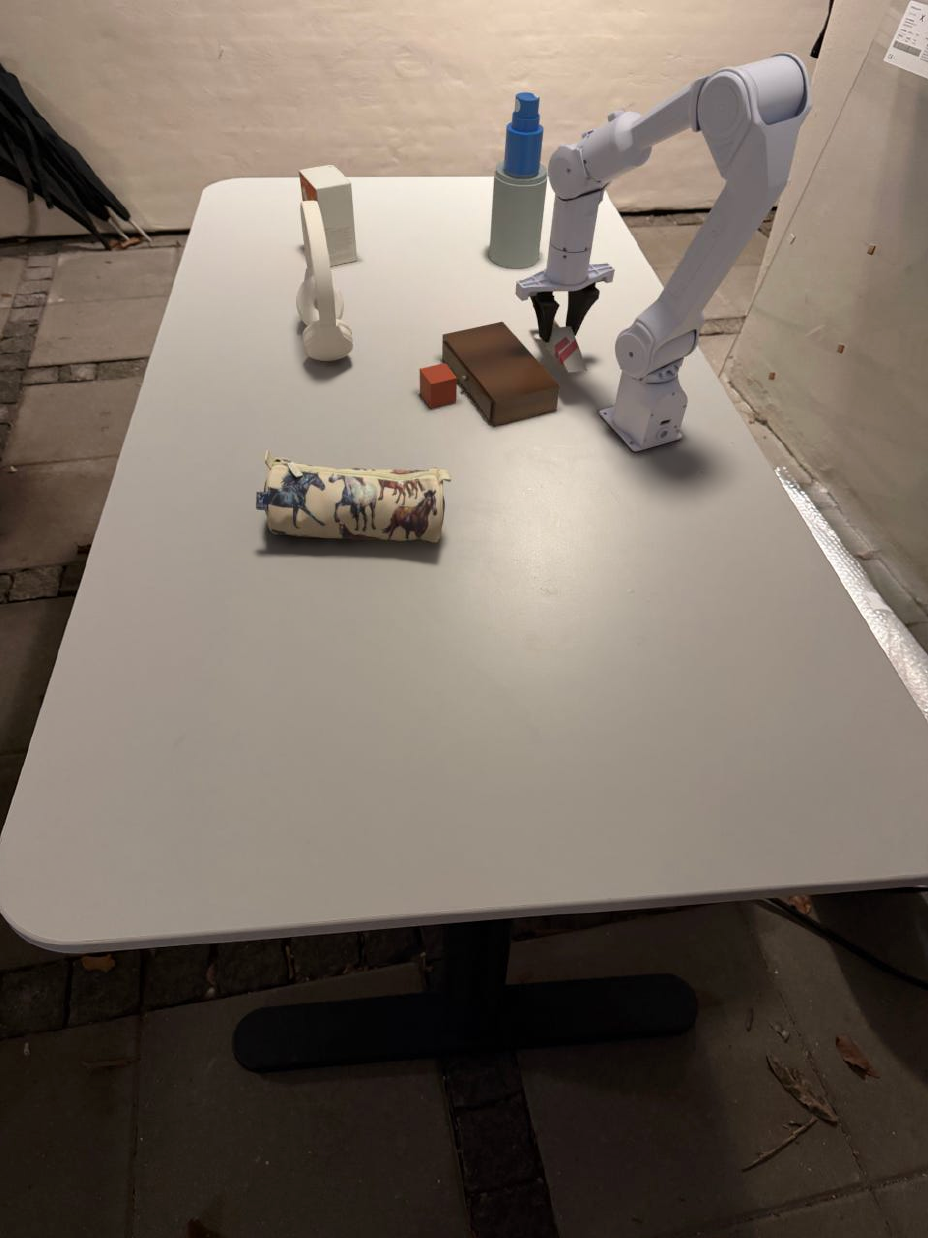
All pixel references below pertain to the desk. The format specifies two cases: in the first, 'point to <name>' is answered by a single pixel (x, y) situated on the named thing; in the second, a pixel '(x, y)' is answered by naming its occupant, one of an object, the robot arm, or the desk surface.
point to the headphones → (320, 294)
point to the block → (438, 385)
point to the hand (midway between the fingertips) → (557, 335)
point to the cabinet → (500, 373)
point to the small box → (332, 209)
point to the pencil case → (352, 502)
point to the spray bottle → (519, 189)
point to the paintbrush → (566, 348)
